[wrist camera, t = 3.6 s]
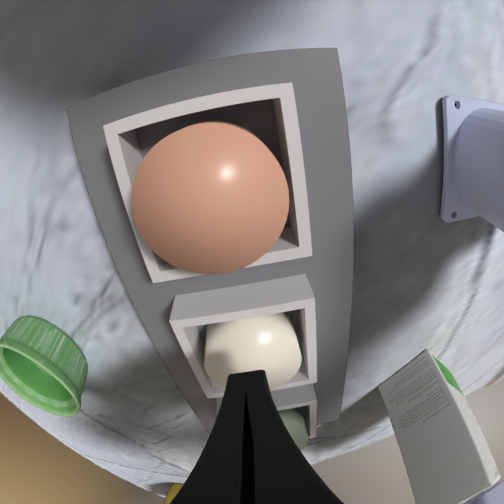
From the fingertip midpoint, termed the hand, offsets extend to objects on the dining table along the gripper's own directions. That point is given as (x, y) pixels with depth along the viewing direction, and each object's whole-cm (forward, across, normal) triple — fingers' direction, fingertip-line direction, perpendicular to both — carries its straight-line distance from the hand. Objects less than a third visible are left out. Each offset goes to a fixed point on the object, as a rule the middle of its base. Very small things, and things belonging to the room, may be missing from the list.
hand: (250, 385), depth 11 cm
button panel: (+7, 0, +2) cm, 8 cm away
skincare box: (+8, -15, +16) cm, 23 cm away
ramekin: (+8, +18, +4) cm, 20 cm away
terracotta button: (+4, 0, -7) cm, 8 cm away
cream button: (+5, 0, +2) cm, 6 cm away
